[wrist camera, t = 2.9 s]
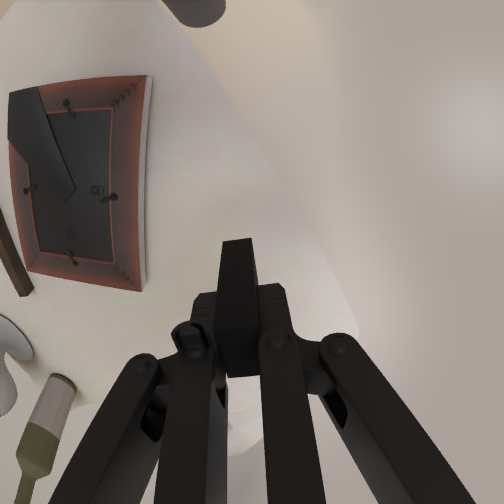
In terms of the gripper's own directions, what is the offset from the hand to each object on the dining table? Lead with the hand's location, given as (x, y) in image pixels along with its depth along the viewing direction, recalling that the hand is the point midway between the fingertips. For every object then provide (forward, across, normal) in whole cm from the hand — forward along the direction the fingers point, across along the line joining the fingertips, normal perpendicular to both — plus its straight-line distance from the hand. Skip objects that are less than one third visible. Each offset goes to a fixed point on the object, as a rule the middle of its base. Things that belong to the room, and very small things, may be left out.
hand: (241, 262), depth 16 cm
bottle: (+13, -40, -30) cm, 52 cm away
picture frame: (+13, -17, +4) cm, 22 cm away
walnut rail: (+13, -32, +4) cm, 35 cm away
